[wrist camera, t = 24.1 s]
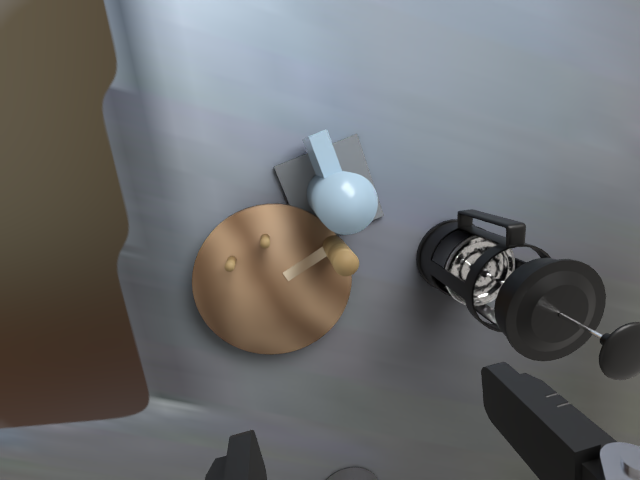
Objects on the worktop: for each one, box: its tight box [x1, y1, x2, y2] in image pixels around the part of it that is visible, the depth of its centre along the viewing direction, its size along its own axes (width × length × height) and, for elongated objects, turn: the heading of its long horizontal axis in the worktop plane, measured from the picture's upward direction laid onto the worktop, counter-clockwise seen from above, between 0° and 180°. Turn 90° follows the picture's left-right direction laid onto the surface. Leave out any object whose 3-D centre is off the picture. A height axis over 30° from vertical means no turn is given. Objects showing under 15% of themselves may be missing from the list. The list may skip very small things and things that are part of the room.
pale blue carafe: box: [303, 129, 378, 235], centre depth 34 cm, size 10×6×9 cm, turn 21°
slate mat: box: [274, 134, 384, 235], centre depth 39 cm, size 10×10×1 cm
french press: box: [417, 210, 640, 380], centre depth 33 cm, size 12×9×23 cm
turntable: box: [192, 204, 359, 354], centre depth 36 cm, size 18×18×8 cm
